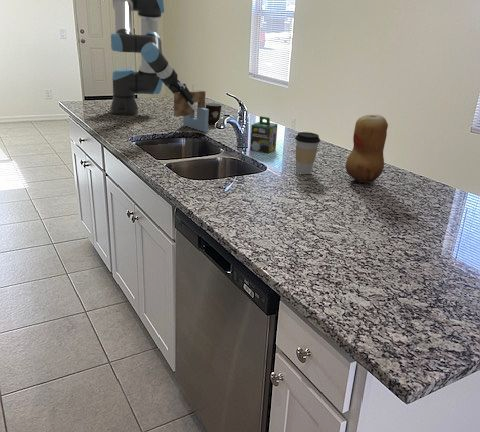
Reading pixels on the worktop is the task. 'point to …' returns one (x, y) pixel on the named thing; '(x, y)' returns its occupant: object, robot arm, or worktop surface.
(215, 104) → the coffee mug
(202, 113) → the slate-blue board
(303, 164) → the coffee cup
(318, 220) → the worktop surface
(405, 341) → the worktop surface
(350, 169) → the butternut squash
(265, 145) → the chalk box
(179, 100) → the walnut board
